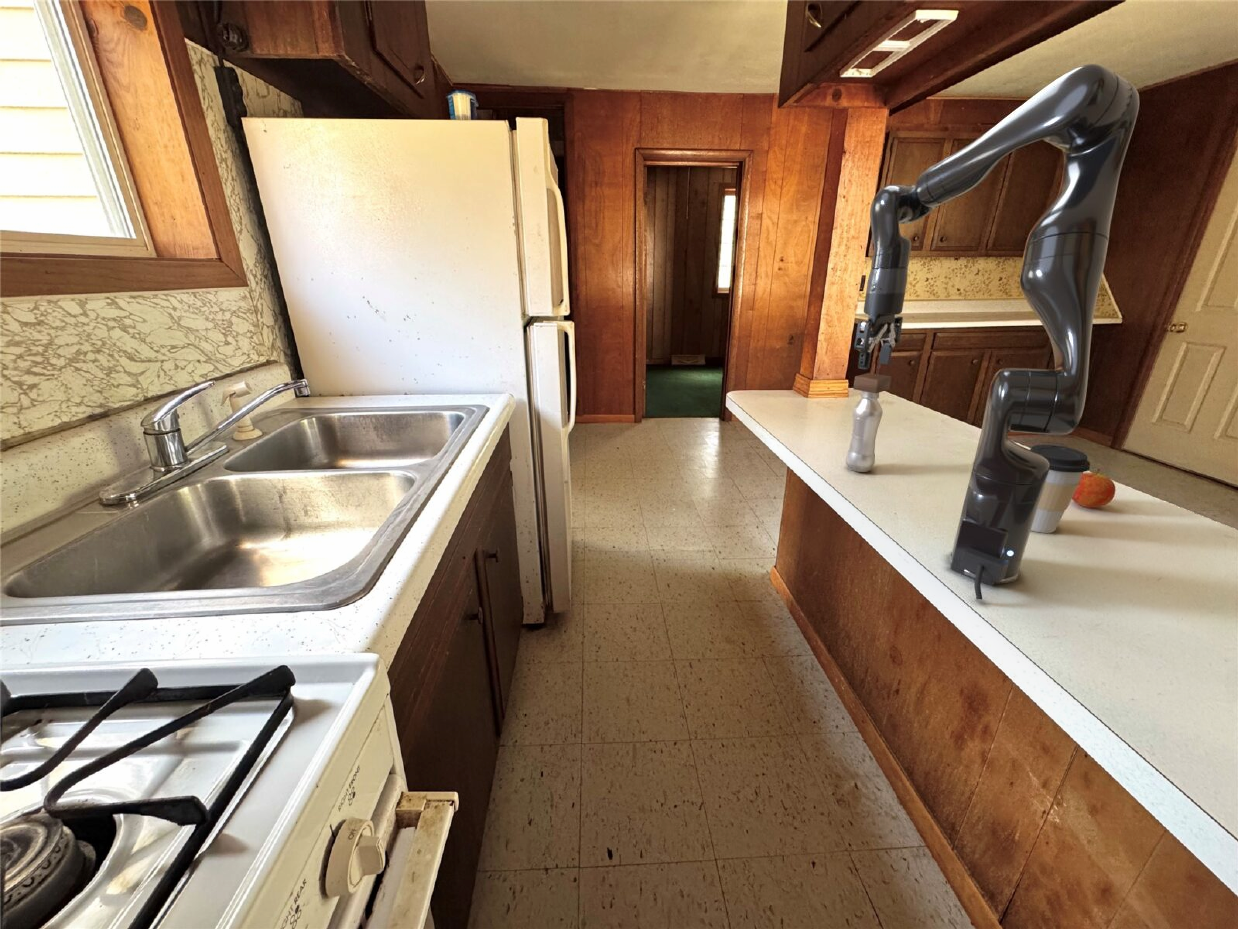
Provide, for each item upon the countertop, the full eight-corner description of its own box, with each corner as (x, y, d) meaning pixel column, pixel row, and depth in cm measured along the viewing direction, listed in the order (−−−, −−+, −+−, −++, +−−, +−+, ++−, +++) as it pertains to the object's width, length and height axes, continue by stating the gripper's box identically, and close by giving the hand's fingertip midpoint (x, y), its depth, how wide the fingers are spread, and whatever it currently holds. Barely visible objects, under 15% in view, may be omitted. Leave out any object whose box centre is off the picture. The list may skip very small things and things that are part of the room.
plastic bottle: (844, 473, 123) (856, 392, 115) (844, 463, 128) (855, 385, 121) (874, 476, 120) (887, 393, 113) (872, 466, 126) (885, 386, 119)
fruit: (1095, 516, 99) (1108, 478, 96) (1055, 502, 105) (1067, 466, 102) (1116, 509, 102) (1130, 472, 99) (1076, 495, 108) (1088, 460, 105)
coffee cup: (1050, 515, 100) (1073, 444, 95) (1079, 540, 92) (1106, 462, 86) (996, 512, 102) (1015, 442, 96) (1020, 536, 94) (1042, 460, 88)
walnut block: (875, 393, 113) (878, 380, 112) (853, 389, 118) (854, 376, 116) (889, 389, 116) (891, 376, 115) (866, 385, 120) (868, 372, 119)
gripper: (884, 293, 102) (872, 373, 108) (920, 289, 110) (907, 364, 116) (850, 292, 108) (840, 368, 114) (886, 288, 116) (875, 360, 122)
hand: (874, 366), depth 115 cm, fingers open, 8 cm apart
